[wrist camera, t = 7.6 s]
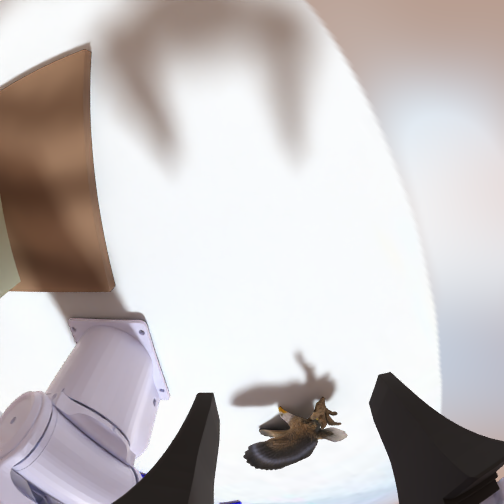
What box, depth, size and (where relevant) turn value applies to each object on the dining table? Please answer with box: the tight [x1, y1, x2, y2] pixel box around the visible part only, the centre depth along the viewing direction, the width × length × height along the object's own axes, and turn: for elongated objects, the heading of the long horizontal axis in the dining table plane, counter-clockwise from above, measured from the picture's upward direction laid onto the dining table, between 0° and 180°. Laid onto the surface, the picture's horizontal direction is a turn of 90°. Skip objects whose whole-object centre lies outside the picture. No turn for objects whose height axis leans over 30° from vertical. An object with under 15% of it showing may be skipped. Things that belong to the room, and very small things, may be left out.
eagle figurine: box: [243, 397, 347, 470], centre depth 23 cm, size 8×7×9 cm
